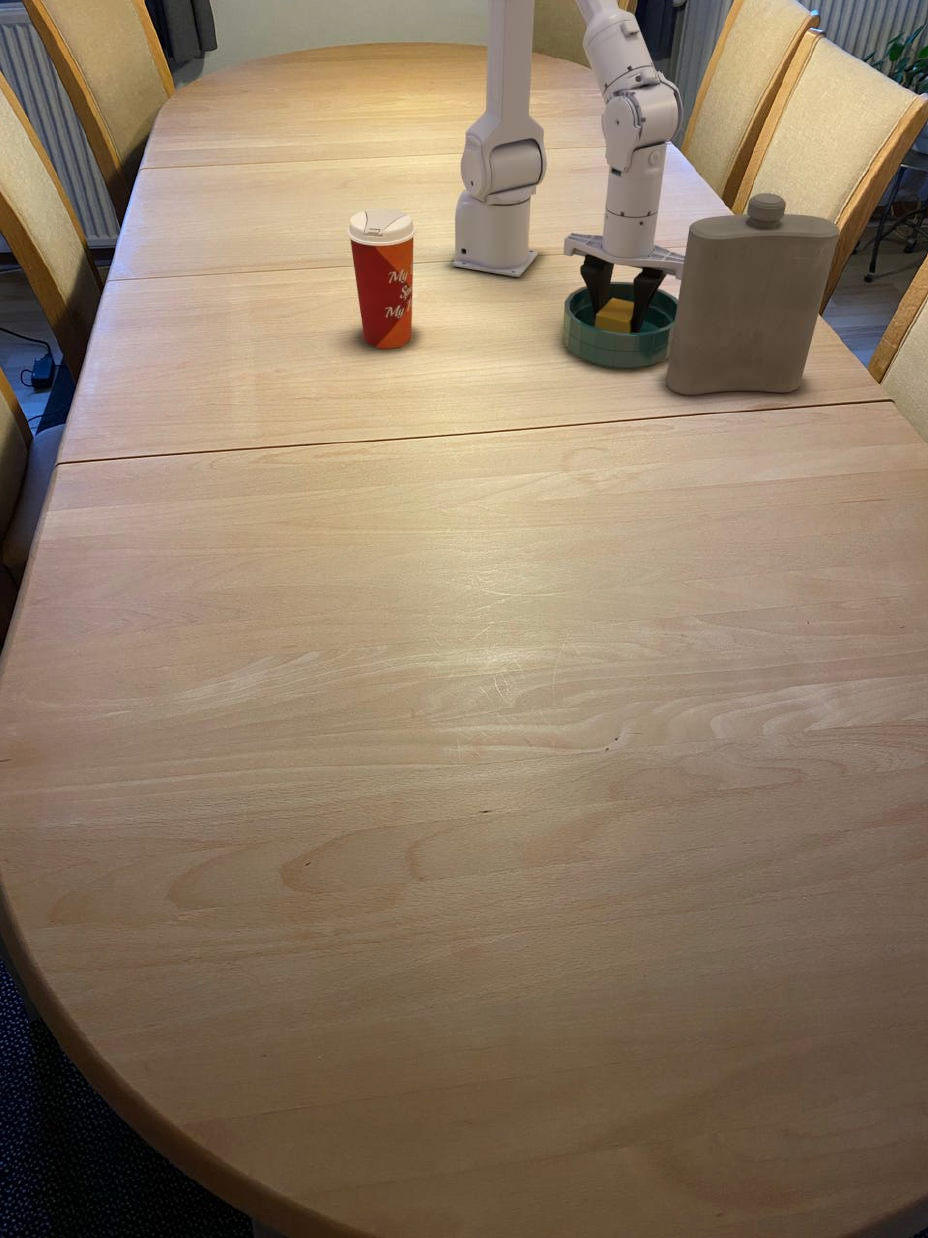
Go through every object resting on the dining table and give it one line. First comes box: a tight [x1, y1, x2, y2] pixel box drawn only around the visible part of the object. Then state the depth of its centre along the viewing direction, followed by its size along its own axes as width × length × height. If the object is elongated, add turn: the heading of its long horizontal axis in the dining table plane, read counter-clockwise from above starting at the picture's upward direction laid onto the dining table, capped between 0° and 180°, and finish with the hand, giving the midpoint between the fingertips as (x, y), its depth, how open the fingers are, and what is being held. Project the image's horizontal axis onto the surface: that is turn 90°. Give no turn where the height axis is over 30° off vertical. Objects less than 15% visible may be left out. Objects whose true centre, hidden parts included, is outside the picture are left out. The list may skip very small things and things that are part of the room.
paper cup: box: [346, 207, 417, 349], centre depth 114 cm, size 8×8×14 cm
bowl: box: [561, 281, 678, 371], centre depth 116 cm, size 14×14×4 cm
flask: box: [665, 192, 841, 396], centre depth 104 cm, size 15×6×20 cm, turn 93°
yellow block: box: [595, 298, 634, 333], centre depth 117 cm, size 4×5×3 cm
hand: (618, 324), depth 117 cm, fingers closed on yellow block, 4 cm apart
